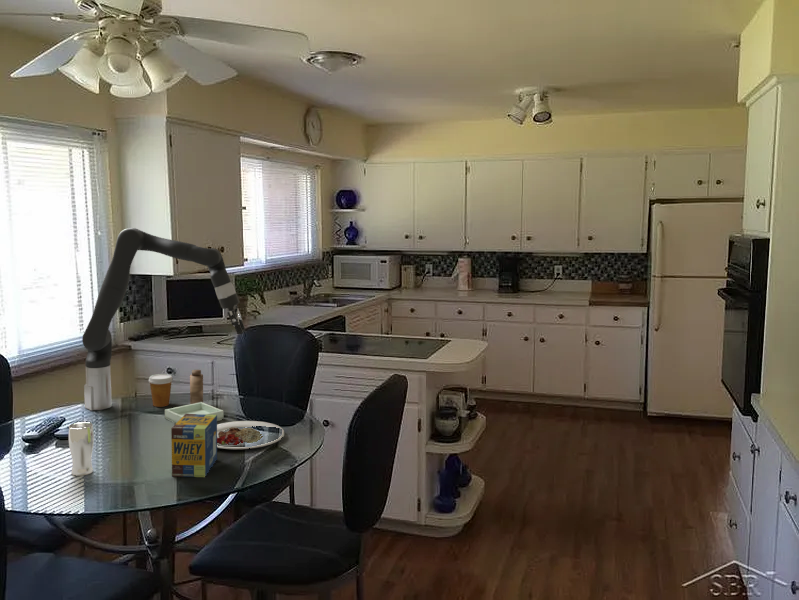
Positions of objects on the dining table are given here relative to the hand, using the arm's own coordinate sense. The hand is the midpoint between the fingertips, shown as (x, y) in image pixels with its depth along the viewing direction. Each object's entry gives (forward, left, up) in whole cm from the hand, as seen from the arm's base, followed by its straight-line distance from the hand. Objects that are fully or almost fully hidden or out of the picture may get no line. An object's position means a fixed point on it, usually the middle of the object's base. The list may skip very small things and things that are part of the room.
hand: (241, 331), depth 280 cm
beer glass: (-77, -28, -32) cm, 87 cm away
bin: (-24, -3, -31) cm, 39 cm away
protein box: (-50, -48, -32) cm, 76 cm away
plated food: (-23, -34, -32) cm, 51 cm away
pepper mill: (-14, +12, -31) cm, 36 cm away
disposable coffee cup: (-24, +23, -32) cm, 46 cm away
